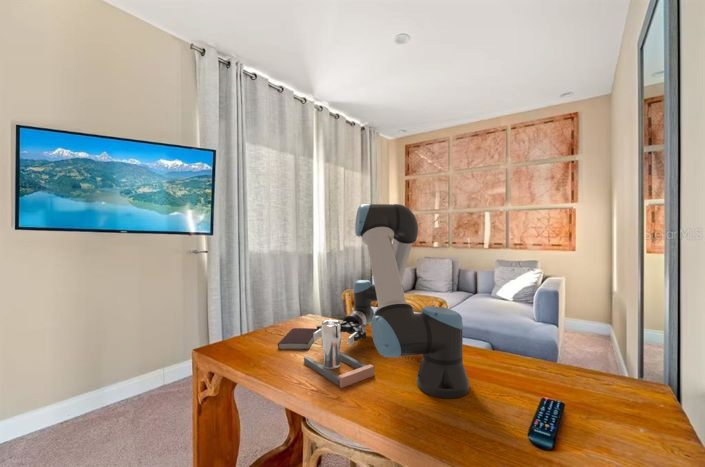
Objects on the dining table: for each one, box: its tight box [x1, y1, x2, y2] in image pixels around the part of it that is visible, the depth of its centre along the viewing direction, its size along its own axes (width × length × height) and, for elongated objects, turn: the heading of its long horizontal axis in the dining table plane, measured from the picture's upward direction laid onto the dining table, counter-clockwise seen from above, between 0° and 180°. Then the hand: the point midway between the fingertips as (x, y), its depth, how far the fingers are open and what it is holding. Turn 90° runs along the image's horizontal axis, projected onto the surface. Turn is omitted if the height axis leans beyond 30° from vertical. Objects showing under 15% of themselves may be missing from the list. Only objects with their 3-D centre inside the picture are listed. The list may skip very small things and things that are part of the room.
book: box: [277, 327, 317, 351], centre depth 137 cm, size 12×19×3 cm, turn 174°
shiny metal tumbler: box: [320, 319, 342, 370], centre depth 112 cm, size 7×7×15 cm
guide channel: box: [303, 351, 375, 389], centre depth 110 cm, size 23×13×3 cm, turn 38°
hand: (331, 339), depth 113 cm, fingers open, 13 cm apart
